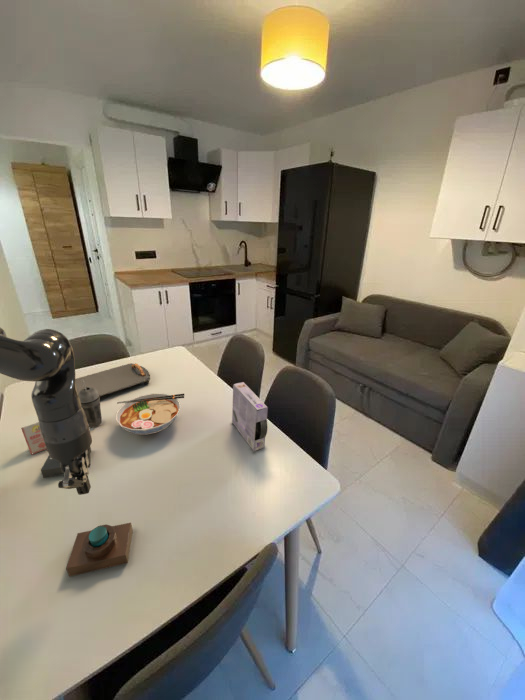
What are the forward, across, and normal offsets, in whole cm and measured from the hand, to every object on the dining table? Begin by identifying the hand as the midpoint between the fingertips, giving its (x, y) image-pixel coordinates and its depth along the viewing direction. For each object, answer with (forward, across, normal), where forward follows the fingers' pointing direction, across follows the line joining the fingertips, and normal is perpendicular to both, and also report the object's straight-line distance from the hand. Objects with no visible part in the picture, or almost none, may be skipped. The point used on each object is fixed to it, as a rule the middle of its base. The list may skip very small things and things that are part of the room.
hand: (84, 491), depth 64 cm
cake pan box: (+17, +29, -44) cm, 55 cm away
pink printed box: (+18, +39, +26) cm, 50 cm away
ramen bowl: (+18, +43, -9) cm, 47 cm away
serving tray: (+18, +77, +14) cm, 80 cm away
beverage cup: (+18, +49, +12) cm, 53 cm away
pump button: (+12, -3, -2) cm, 13 cm away
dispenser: (+17, -3, -2) cm, 17 cm away
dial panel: (+17, +29, +15) cm, 37 cm away
